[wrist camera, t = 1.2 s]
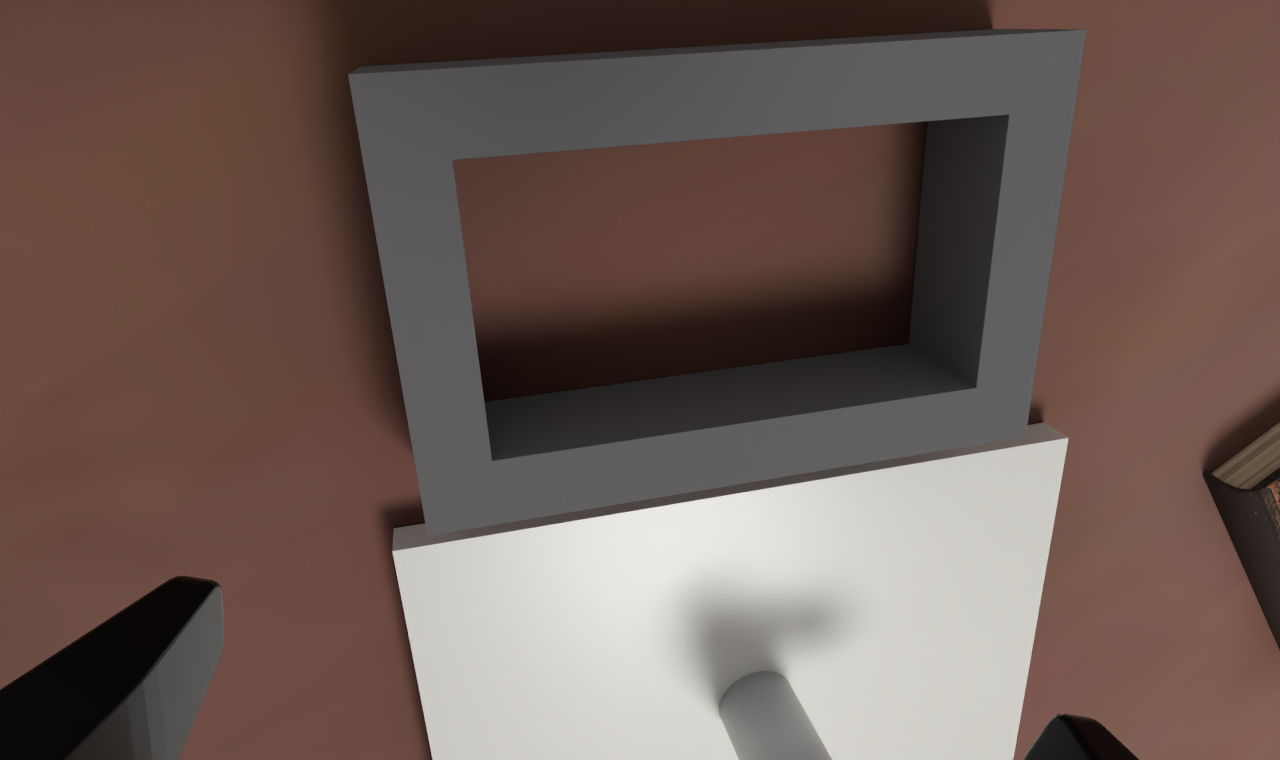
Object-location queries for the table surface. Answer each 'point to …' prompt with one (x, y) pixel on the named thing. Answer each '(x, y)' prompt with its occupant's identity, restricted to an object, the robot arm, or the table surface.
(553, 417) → the grey rectangular frame
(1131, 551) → the table surface
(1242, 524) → the hardcover book
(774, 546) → the hook board
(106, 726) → the robot arm
